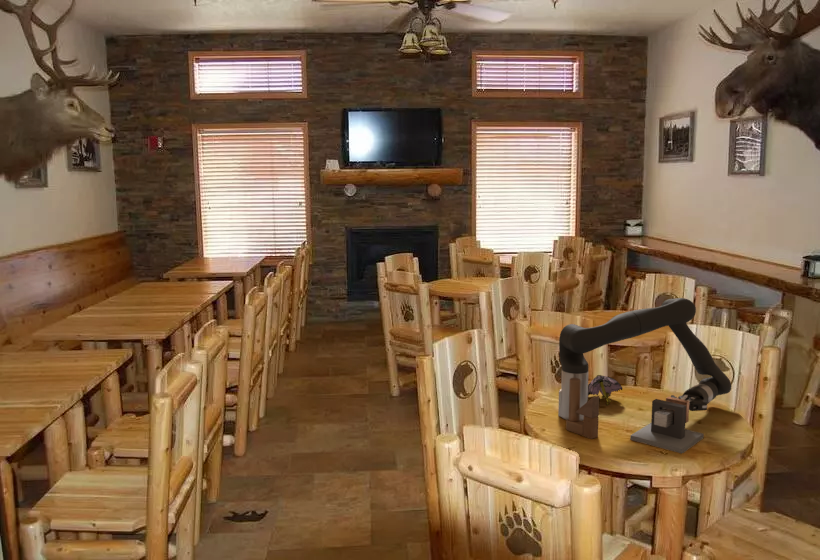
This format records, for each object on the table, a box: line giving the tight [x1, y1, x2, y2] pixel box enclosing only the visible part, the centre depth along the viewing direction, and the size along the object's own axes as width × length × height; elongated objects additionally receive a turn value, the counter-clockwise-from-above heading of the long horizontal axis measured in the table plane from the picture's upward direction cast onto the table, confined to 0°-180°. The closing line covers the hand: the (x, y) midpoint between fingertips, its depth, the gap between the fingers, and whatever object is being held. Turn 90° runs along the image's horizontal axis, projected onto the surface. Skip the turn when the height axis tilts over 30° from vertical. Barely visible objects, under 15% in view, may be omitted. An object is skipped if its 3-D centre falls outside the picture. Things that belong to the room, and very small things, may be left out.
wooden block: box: [565, 378, 600, 440], centre depth 226 cm, size 4×11×18 cm, turn 37°
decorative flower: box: [588, 374, 623, 406], centre depth 259 cm, size 15×12×15 cm
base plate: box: [629, 422, 705, 454], centre depth 222 cm, size 17×17×2 cm
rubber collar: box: [650, 398, 686, 439], centre depth 221 cm, size 10×3×10 cm, turn 46°
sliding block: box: [654, 396, 690, 427], centre depth 222 cm, size 7×14×7 cm, turn 136°
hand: (678, 409), depth 227 cm, fingers closed
